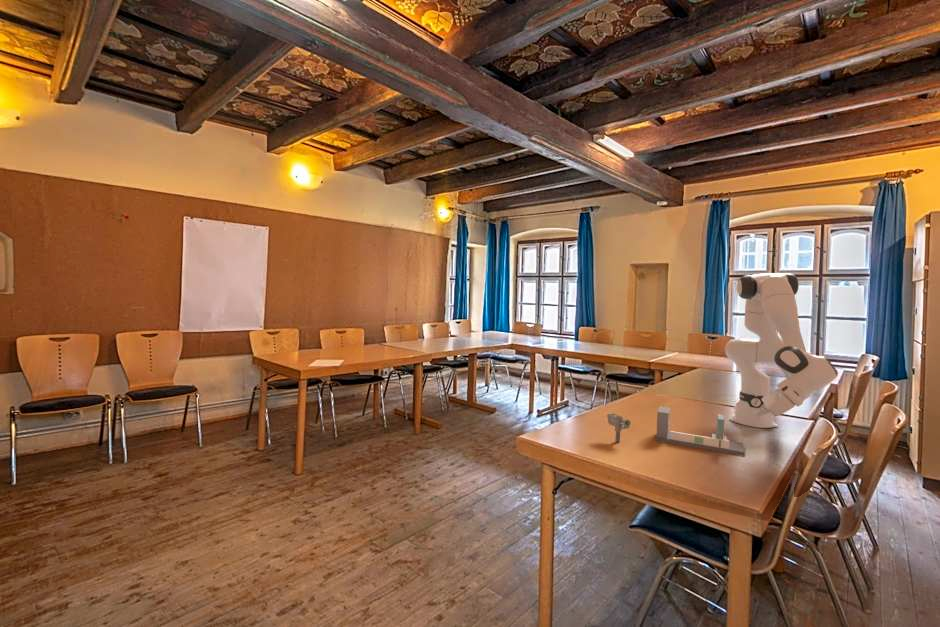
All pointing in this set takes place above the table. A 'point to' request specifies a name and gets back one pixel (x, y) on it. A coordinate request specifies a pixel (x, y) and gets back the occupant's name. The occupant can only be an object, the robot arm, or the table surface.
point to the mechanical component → (618, 424)
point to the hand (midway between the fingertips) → (756, 414)
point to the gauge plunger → (720, 428)
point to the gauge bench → (693, 437)
